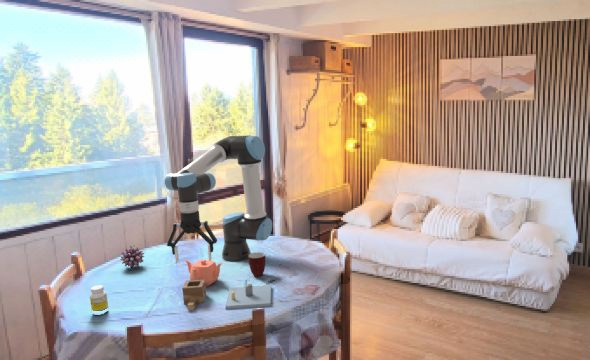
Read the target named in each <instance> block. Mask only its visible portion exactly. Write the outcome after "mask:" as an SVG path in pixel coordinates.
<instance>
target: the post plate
mask: <svg viewBox="0 0 590 360" xmlns="http://www.w3.org/2000/svg"><path fill="white" fill-rule="evenodd" d="M271 297H272V285H270V284H268V285H265V284H264V285H253V284H251V283H246V284H245V285H244V286H237V287H229V290H228V295H227V299H226V301H225V302H226V303H225V309H226V310H229V309H231V310H232V309H247V308H260V307H261V308H263V307H271V306H272V305H271V303H272V302H271V301H272V298H271Z"/></svg>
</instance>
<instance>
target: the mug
mask: <svg viewBox="0 0 590 360" xmlns="http://www.w3.org/2000/svg"><path fill="white" fill-rule="evenodd" d="M250 253H251V252H250ZM247 261H248V264H249V269H250V272H251V273H252V276H253V277H255V278H256V277H257V278H260V277H262V276H263V275H264V273H265V269H266V268H265V267H266V261H267V260H266V254H265V253H264V252H261V251H260V252H259V251H257V252H252V253H251V254H249V255H248V258H247Z"/></svg>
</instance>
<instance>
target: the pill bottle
mask: <svg viewBox="0 0 590 360" xmlns="http://www.w3.org/2000/svg"><path fill="white" fill-rule="evenodd" d="M90 292H91V293H90V294H89V300H90V306H91V307H90V308H91V311H92V310H93V311H103V310H105V309H107V308H108V309H109V303H108V296H107V295H108V293H107V291H106V290H105V288H104V285H102V284H97V285H94V286H92V287H91V288H90Z"/></svg>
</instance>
